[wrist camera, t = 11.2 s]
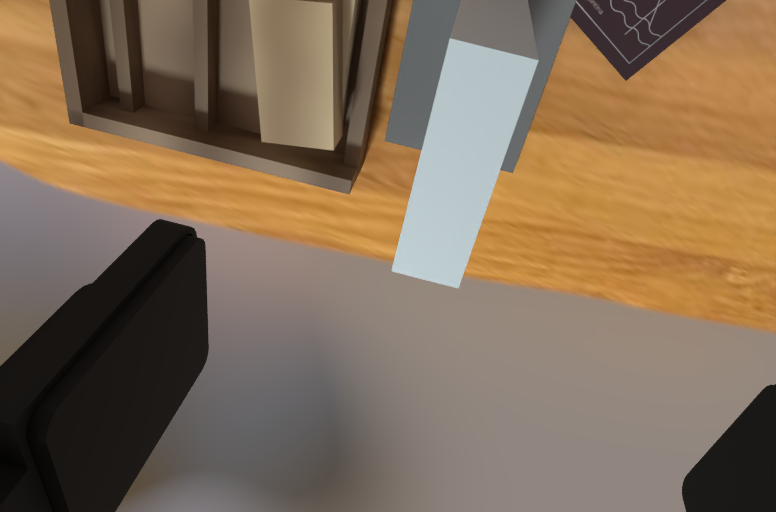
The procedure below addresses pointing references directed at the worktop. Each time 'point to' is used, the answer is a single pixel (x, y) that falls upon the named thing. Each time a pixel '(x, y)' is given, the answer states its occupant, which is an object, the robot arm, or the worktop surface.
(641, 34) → the chocolate bar
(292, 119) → the offcut top
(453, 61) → the board
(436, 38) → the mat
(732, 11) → the worktop surface
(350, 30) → the offcut low
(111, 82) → the rack
